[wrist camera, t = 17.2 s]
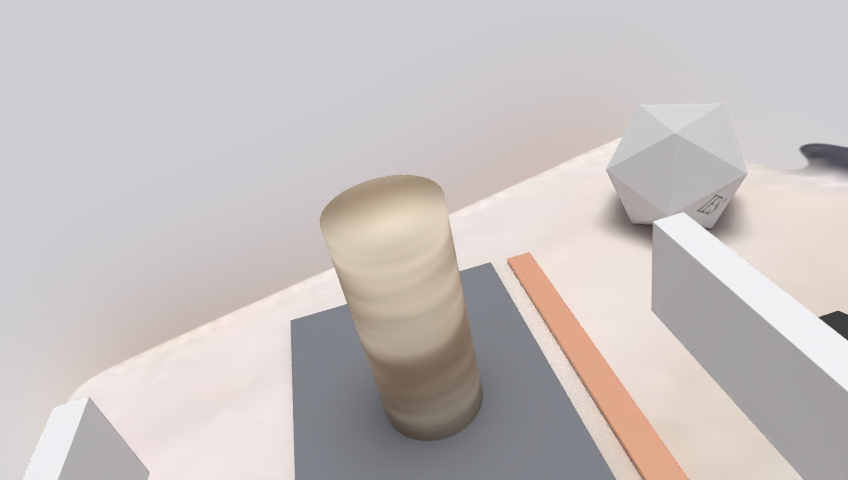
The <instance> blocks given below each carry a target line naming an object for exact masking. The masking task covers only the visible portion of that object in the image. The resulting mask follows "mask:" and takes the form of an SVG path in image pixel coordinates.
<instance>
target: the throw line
mask: <svg viewBox="0 0 848 480" xmlns="http://www.w3.org/2000/svg"><path fill="white" fill-rule="evenodd" d="M507 260H508V263H509V265H510V266H511V268H512V270H513V271H514V273H515V274H516V276H517V278H518V279H519V281H520V282H521V284H522V286H523V287H524V289H525V290H526V292H527V294H528V295H529V297H530V298H531V300H532V302H533V303H534V305H535V306H536V308H537V310H538V311H539V313H540V314H541V316H542V318H543V319H544V321H545V322H546V324H547V326H548V327H549V329H550V330H551V332H552V334H553V335H554V337H555V338H556V340H557V342H558V343H559V345H560V347H561V348H562V350H563V351H564V353H565V355H566V356H567V358H568V359H569V361H570V363H571V364H572V366H573V367H574V369H575V371H576V372H577V374H578V375H579V377H580V379H581V380H582V382H583V383H584V385H585V387H586V388H587V390H588V391H589V393H590V395H591V396H592V398H593V399H594V401H595V403H596V404H597V406H598V407H599V409H600V411H601V412H602V414H603V415H604V417H605V419H606V420H607V422H608V423H609V425H610V427H611V428H612V430H613V431H614V433H615V435H616V436H617V438H618V439H619V441H620V443H621V444H622V446H623V447H624V449H625V451H626V452H627V454H628V455H629V457H630V459H631V460H632V462H633V463H634V465H635V467H636V468H637V470H638V471H639V473H640V475H641V476H642V478H643V479H644V480H689V479H688V477H687V476H686V475H685V473H684V472H683V470H682V469H681V468H680V466H679V465H678V463H677V462H676V460H675V459H674V458H673V456H672V455H671V453H670V452H669V450H668V449H667V448H666V446H665V445H664V443H663V442H662V440H661V439H660V438H659V436H658V435H657V433H656V432H655V431H654V429H653V428H652V426H651V425H650V423H649V422H648V421H647V419H646V418H645V416H644V415H643V413H642V412H641V411H640V409H639V408H638V406H637V405H636V403H635V402H634V401H633V399H632V398H631V396H630V395H629V393H628V392H627V391H626V389H625V388H624V386H623V385H622V384H621V382H620V381H619V379H618V378H617V376H616V375H615V374H614V372H613V371H612V369H611V368H610V366H609V365H608V364H607V362H606V361H605V359H604V358H603V356H602V355H601V354H600V352H599V351H598V349H597V348H596V347H595V345H594V344H593V342H592V341H591V339H590V338H589V337H588V335H587V334H586V332H585V331H584V329H583V328H582V327H581V325H580V324H579V322H578V321H577V319H576V318H575V317H574V315H573V314H572V312H571V311H570V309H569V308H568V307H567V305H566V304H565V302H564V301H563V300H562V298H561V297H560V295H559V294H558V292H557V291H556V290H555V288H554V287H553V285H552V284H551V282H550V281H549V280H548V278H547V277H546V275H545V274H544V272H543V271H542V270H541V268H540V267H539V265H538V264H537V262H536V261H535V260H534V258H533V257H532V255H531V254H530V253H525V254H522V255H518V256H515V257H512V258H508V259H507Z"/></svg>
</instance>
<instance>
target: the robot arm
mask: <svg viewBox="0 0 848 480" xmlns="http://www.w3.org/2000/svg"><path fill="white" fill-rule="evenodd" d="M652 311H653V312H654V313H655V314H656V316H657V317H658V318H659V319H660V320H661V321H662V322H663V323H664V324H665V326H666V327H667V328H668V329H669V330H670V331H671V332H672V333H673V334H674V336H675V337H676V338H677V339H678V340H679V341H680V342H681V343H682V345H683V346H684V347H685V348H686V349H687V350H688V351H689V352H690V353H691V355H692V356H693V357H694V358H695V359H696V360H697V361H698V362H699V363H700V365H701V366H702V367H703V368H704V369H705V370H706V371H707V372H708V373H709V375H710V376H711V377H712V378H713V379H714V380H715V381H716V382H717V383H718V385H719V386H720V387H721V388H722V389H723V390H724V391H725V392H726V394H727V395H728V396H729V397H730V398H731V399H732V400H733V401H734V402H735V404H736V405H737V406H738V407H739V408H740V409H741V410H742V411H743V412H744V414H745V415H746V416H747V417H748V418H749V419H750V420H751V421H752V422H753V424H754V425H755V426H756V427H757V428H758V429H759V430H760V431H761V432H762V434H763V435H764V436H765V437H766V438H767V439H768V440H769V441H770V443H771V444H772V445H773V446H774V447H775V448H776V449H777V450H778V451H779V453H780V454H781V455H782V456H783V457H784V458H785V459H786V460H787V461H788V463H789V464H790V465H791V466H792V467H793V468H794V469H795V470H796V471H797V473H798V474H799V475H800V476H801V477H802V478H803V479H804V480H848V315H847V314H845V313H843V312H840V311H836V312H833V313H830V314H827V315H824V316H821V317H817V316H816V315H814V314H813V313H812V312H810V311H809V310H808V309H807V308H805V307H804V306H803V305H802V304H800V303H799V302H798V301H796V300H795V299H794V298H793V297H791V296H790V295H789V294H787V293H786V292H785V291H784V290H782V289H781V288H780V287H779V286H777V285H776V284H775V283H773V282H772V281H771V280H770V279H768V278H767V277H766V276H764V275H763V274H762V273H761V272H759V271H758V270H757V269H756V268H754V267H753V266H752V265H750V264H749V263H748V262H747V261H745V260H744V259H743V258H742V257H740V256H739V255H738V254H736V253H735V252H734V251H733V250H731V249H730V248H729V247H727V246H726V245H725V244H724V243H722V242H721V241H720V240H719V239H717V238H716V237H715V236H713V235H712V234H711V233H710V232H708V231H707V230H706V229H705V228H703V227H702V226H701V225H699V224H698V223H697V222H696V221H694V220H693V219H692V218H690V217H689V216H688V215H687V214H685V213H684V212H682V213H679V214H675V215H672V216H669V217H666V218H662V219H659V220H656V221H653V247H652ZM148 476H149V471H148V469H147V468H146V467H145V466H144V464H143V463H142V462H141V461H140V459H139V458H138V457H137V456H136V454H135V453H134V452H133V451H132V449H131V448H130V447H129V446H128V444H127V443H126V442H125V441H124V439H123V438H122V437H121V436H120V435H119V433H118V432H117V431H116V430H115V428H114V427H113V426H112V425H111V423H110V422H109V421H108V420H107V418H106V417H105V416H104V415H103V413H102V412H101V411H100V410H99V408H98V407H97V406H96V405H95V403H94V402H93V401H92V400H91V398H90V397H87V398H83V399H80V400H77V401H74V402H70V403H67V404H64V405H61V406H58V407H55V408H53V410H52V413H51V415H50V418H49V420H48V422H47V424H46V426H45V429H44V431H43V433H42V435H41V438H40V440H39V442H38V445H37V447H36V449H35V452H34V454H33V456H32V458H31V461H30V463H29V465H28V467H27V470H26V472H25V474H24V476H23V479H22V480H148Z"/></svg>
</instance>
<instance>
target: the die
mask: <svg viewBox="0 0 848 480" xmlns="http://www.w3.org/2000/svg"><path fill="white" fill-rule="evenodd" d="M606 171H607V173H608V175H609V177H610V179H611V181H612V183H613V185H614V187H615V189H616V192H617V194H618V196H619V198H620V200H621V202H622V204H623V206H624V208H625V210H626V212H627V214H628V216H629V218H630V220H631V223H632V224H647V225H653V221H656V220H659V219H662V218H666V217H669V216H672V215H675V214H679V213H682V212H684V213H685V214H687V215H688V216H689V217H690V218H692V219H693V220H694V221H696V222H697V223H698V224H699V225H701V226H702V227H703V228H709V229H712V228H713V226H714V225H715V223H716V222H717V220H718V218H719V217H720V215H721V214H722V212H723V211H724V209H725V208H726V206H727V205H728V203H729V201H730V200H731V198H732V197H733V195H734V194H735V192H736V191H737V189H738V187H739V186H740V184H741V183H742V181H743V180H744V178H745V177H746V175H747V171H746V168H745V165H744V162H743V159H742V156H741V153H740V150H739V147H738V144H737V141H736V138H735V135H734V132H733V129H732V126H731V123H730V120H729V117H728V113H727V111H726V107H725V104H724V103H697V104H651V105H650V104H648V105H639V106H638V108H637V110H636V112H635V114H634V116H633V118H632V120H631V122H630V124H629V126H628V128H627V130H626V132H625V133H624V135H623V137H622V139H621V141H620V143H619V145H618V147H617V149H616V151H615V153H614V155H613V157H612V159H611V161H610V163H609V165H608V167H607V169H606Z"/></svg>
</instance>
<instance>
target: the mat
mask: <svg viewBox="0 0 848 480" xmlns="http://www.w3.org/2000/svg"><path fill="white" fill-rule="evenodd" d="M459 274H460V279H461V284H462V289H463V294H464V299H465V304H466V309H467V314H468V319H469V325H470V330H471V335H472V340H473V345H474V350H475V355H476V360H477V365H478V370H479V376H480V381H481V386H482V392H483V399H482V404H481V407H480V410H479V412H478V414H477V415H476V417H475V418H474V420H473V421H472V422H471V423H470V424H469V425H468V426H467V427H466V428H464V429H463V430H461V431H460V432H458V433H456V434H455V435H453V436H450V437H447V438H444V439H440V440H434V441H421V440H415V439H411V438H409V437H406V436H404V435H402V434H401V433H399V432H398V431H397V430H396V429H395V428H394V427H393V426H392V425H391V423H390V422H389V420H388V417H387V415H386V412H385V409H384V406H383V403H382V400H381V398H380V395H379V392H378V389H377V386H376V383H375V381H374V378H373V375H372V372H371V369H370V366H369V363H368V361H367V358H366V355H365V352H364V349H363V346H362V344H361V341H360V338H359V335H358V332H357V329H356V327H355V324H354V321H353V318H352V315H351V312H350V309H349V307H348V304H346V305H343V306H339V307H336V308H332V309H329V310H325V311H322V312H319V313H315V314H312V315H308V316H305V317H301V318H298V319H295V320H291V348H292V385H293V421H294V457H295V480H616V479H615V477H614V475H613V474H612V472H611V470H610V468H609V467H608V465H607V463H606V461H605V460H604V458H603V456H602V454H601V453H600V451H599V449H598V448H597V446H596V444H595V442H594V441H593V439H592V437H591V435H590V434H589V432H588V430H587V428H586V427H585V425H584V423H583V422H582V420H581V418H580V416H579V415H578V413H577V411H576V409H575V408H574V406H573V404H572V403H571V401H570V399H569V397H568V396H567V394H566V392H565V390H564V389H563V387H562V385H561V383H560V382H559V380H558V378H557V377H556V375H555V373H554V371H553V370H552V368H551V366H550V364H549V363H548V361H547V359H546V357H545V356H544V354H543V352H542V351H541V349H540V347H539V345H538V344H537V342H536V340H535V338H534V337H533V335H532V333H531V331H530V330H529V328H528V326H527V325H526V323H525V321H524V319H523V318H522V316H521V314H520V312H519V311H518V309H517V307H516V306H515V304H514V302H513V300H512V299H511V297H510V295H509V293H508V292H507V290H506V288H505V286H504V285H503V283H502V281H501V280H500V278H499V276H498V274H497V273H496V271H495V269H494V267H493V266H492V264H491V262H490V263H487V264H483V265H480V266H477V267H473V268H470V269H466V270H463V271H459Z"/></svg>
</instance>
